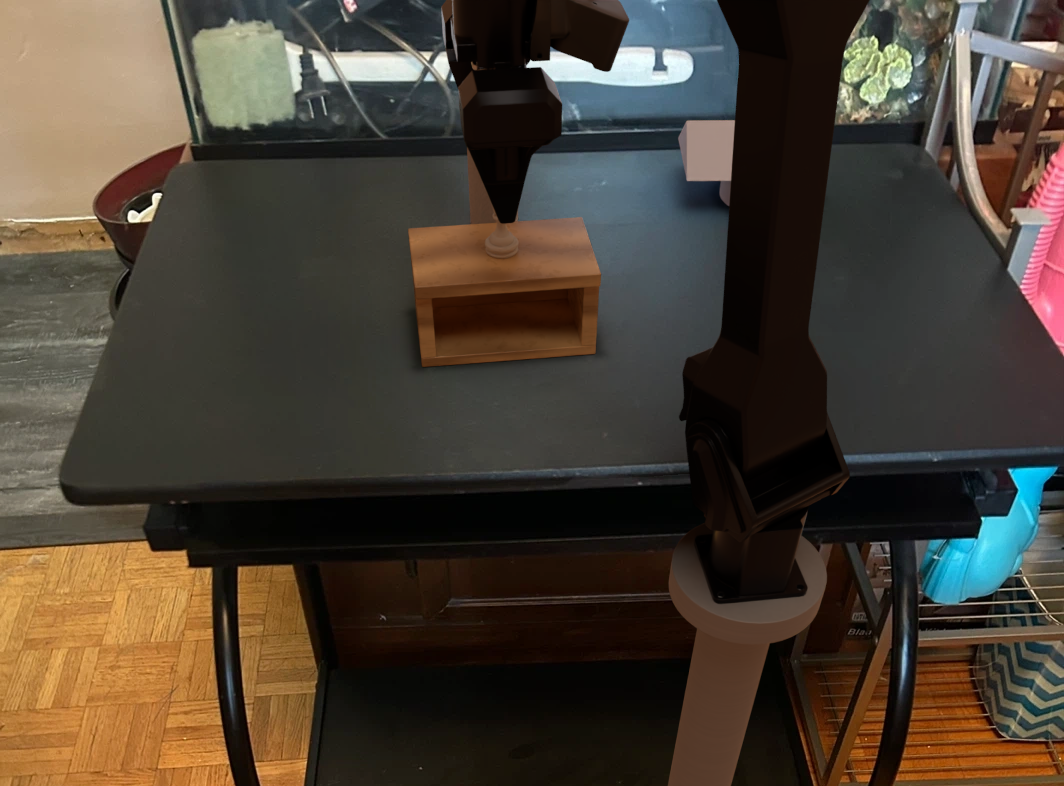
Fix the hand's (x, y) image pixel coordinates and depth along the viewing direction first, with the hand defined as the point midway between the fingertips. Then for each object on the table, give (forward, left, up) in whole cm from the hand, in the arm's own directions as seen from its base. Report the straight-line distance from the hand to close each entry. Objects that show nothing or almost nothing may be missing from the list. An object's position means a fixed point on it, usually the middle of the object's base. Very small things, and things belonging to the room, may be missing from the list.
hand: (500, 192), depth 75 cm
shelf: (0, 0, -11) cm, 11 cm away
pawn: (0, 0, -5) cm, 5 cm away
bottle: (+16, -1, -12) cm, 20 cm away
